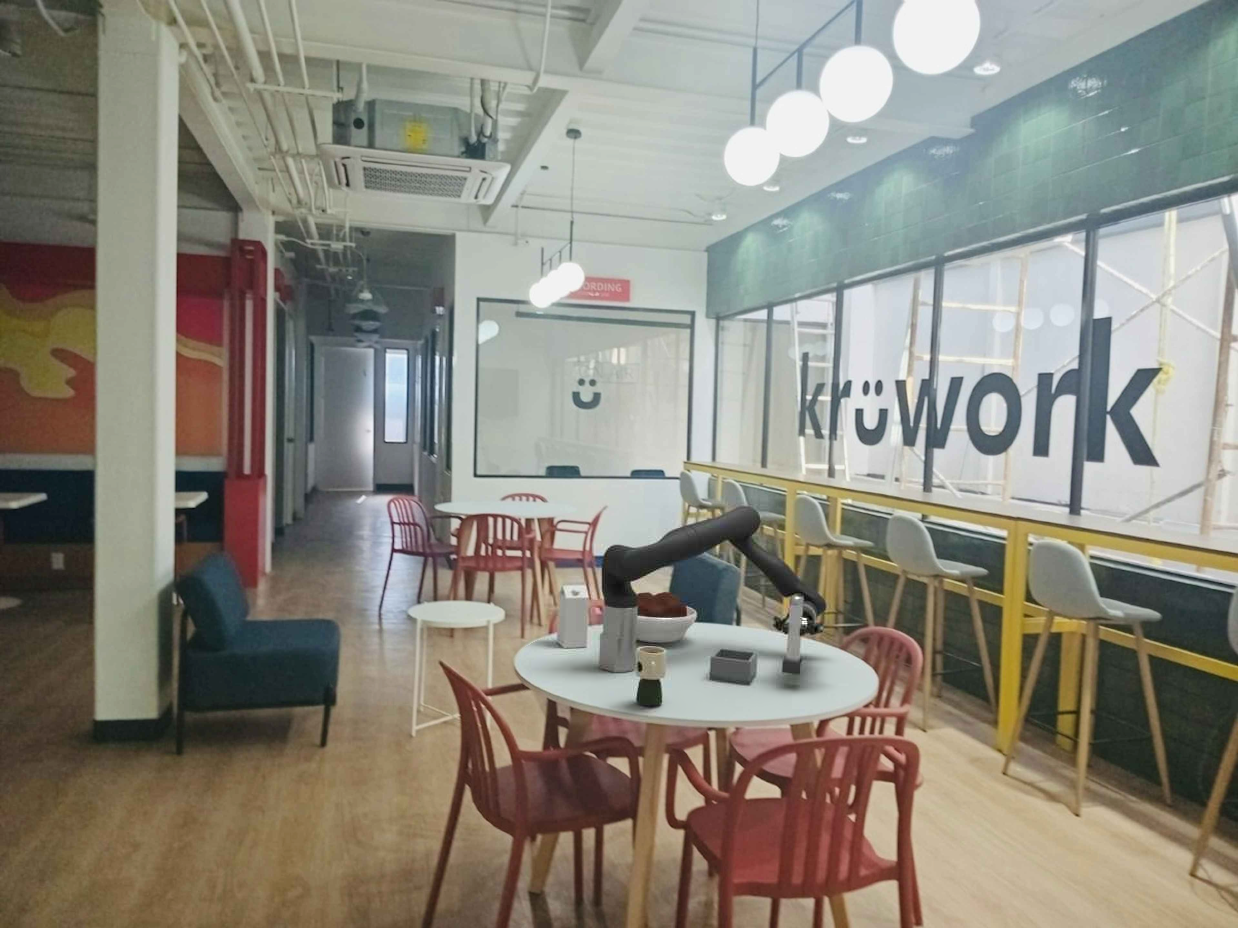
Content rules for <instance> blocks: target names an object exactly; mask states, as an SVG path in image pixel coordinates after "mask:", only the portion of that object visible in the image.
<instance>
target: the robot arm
mask: <svg viewBox="0 0 1238 928" xmlns="http://www.w3.org/2000/svg"><path fill="white" fill-rule="evenodd" d="M761 522H762V520H761V516H760V514H759V512H758V511H757V510H756V509H755V508H753V507H751V506H748V505H740V506H736V507H735V508H734V509H731V510H729V511H727V512H726V513H723V514H721V515H718V516H716V517H712V518H709V519H704V520H699V521H697V522H694V523H690V524H686V525H682V526H680V527H677V528H675V529H672V530H669V531H668V532H667V533H665V534H664V535H663V536H662V537H661V538H660V540H658V541H657V542H654V543H652V544H651V543H650V544H648V545H644V546H638V547H631V546H627V545H623V544H613V545H611V546H609V547H608V548H607V549H606V550H605V552H604V554H603V556H602V559H601V594H602V596H603V603H604V604H603V618H602V619H603V621H602V632H601V633H600V635H599V637H600V638H599V653H598V654H599V657H598V669H602V670H605V671H609V672H612V673H614V674H615V673H622V672H623V673H626V672H631V671H634V670H636V653H637V639H636V636H637V615H638V596H637V594H638V593H636V592H635V590H634V589H633V587H632V584H631V582H635V581H638V580H640V579H642V578H644V577H646V576H648V575H650V574H651V573H654V572H656V571H658V570H661V569H663V568H666V567H670V566H672V565H675V564H678V563H681V562H684V561H687V560H690V559H693V558H695V557H698V556H700V555H702V554H705V553H707V552H708V551H710V550H712V549H713V548H716V547H717V546H718V545H719V546H720V545H721V544H722V543H724V542H726V541H728V543H730V544H731V545H732V546H733V547H735V549H737V550H738V551H739V552H740V553H741V554H742V555H743V556H744V557H746V559H748V560H749V561H750V562H751V563H752V564H753V565H754V566H755V567H756V568H758V569H759V571H761V572H762V573H763V575H764V576H765V578H767V579H768V581H769V582H770V583H771V584H772V586H773V587H774V588H775V589H776V590H777V591H778V593H779V594H780V595H781V596H782V597H783V598H787V599H788V598H790V597H791V596H796V595H802V597H804V602H803V615H802V626H801V627H800V634H799V636H801V637H803V636H805V635H806V636H807V635H811V636H814V635H817V634H818V635H819V634H822V633H824V622H822V621H819V622H817V619H818V617H820V616H821V615H822V614H824V613H825V611H827V602H826V600H825V599H824V597H823V596H822V595H820V594H819V593H818V592H816V591H815V590H813V589H812V588H811V587H809V585H807V584H805V583H804V582H803V581H802V580H801V579H800V578H799V577H798V576H797V574H796V573H794V571H793V570H792V568H791V567H790V566H789V565H788V564H787V563H786V562H785V561H784V560H782V559H781V558H779V557H778V556H777V555H775V554H774V553H771V552H769V551H767V550H766V549H765V548H763V547H762V546H761V545H760V544H758V543H757V541H755V539H754V538H753V537H752V536H753V535H755V534H756V532H757V531H758V530H759V529H760V526H761ZM772 619H773V620H772V627H773V628H775V629H776V630H777V631H779V632H781V631H782V633H783V634H784V635H788V627H789V625H788V624H789V612H788V613H787V614H786V617H784V618H782V619H781V617H779V616H773V618H772Z"/></svg>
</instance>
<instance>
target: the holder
mask: <svg viewBox="0 0 1238 928" xmlns="http://www.w3.org/2000/svg"><path fill="white" fill-rule="evenodd" d="M709 665H710V666H709V680H711V681H718V682H724V683H731V684H739V685H746V686H747V685H749V686H750V685H751V684H752V682H753V680H754V679H755V678H756V676H757V669H758V652H754V651H745V650H737V649H732V648H731V649H729V648H723V647H719V648H718V649H717V650H715V652H713V653H712V655H711V656H710V664H709Z"/></svg>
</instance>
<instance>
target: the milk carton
mask: <svg viewBox="0 0 1238 928" xmlns="http://www.w3.org/2000/svg"><path fill="white" fill-rule="evenodd" d="M589 603H590V596H589V592H588V588H587V583H586V581H562V586H561V588H560V590H559V593H558V613H557V629H556V630H557V635H556V643H558V645H560V646H561V647H562V648H564V649H574V648H577V649H578V648H587V645H588V627H589V626H588V625H589V622H588V621H589V605H590V604H589Z"/></svg>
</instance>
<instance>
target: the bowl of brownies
mask: <svg viewBox="0 0 1238 928" xmlns="http://www.w3.org/2000/svg"><path fill="white" fill-rule="evenodd" d="M636 594H637V596H638V615H637V636H636V641H637V640H638V641H641V642H647V643H651V644H664V643H673V642H674V643H675V642H677V641H680V640H682V639H683V638H684V637H685V635H686V633H687V631H688V629H689V628H690V627H692V625H694V622H695V621H696V619H697V617H698V613H697V611H696V610H695V609H694V608H692V607H689V606H687V605H684V604H682V602H680V599H679V597H678V596H677V595H675V594H671V593H670V592H668V591H662V592H658V593H656V594H654V595H653V594H652V592H639V593H636Z"/></svg>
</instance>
